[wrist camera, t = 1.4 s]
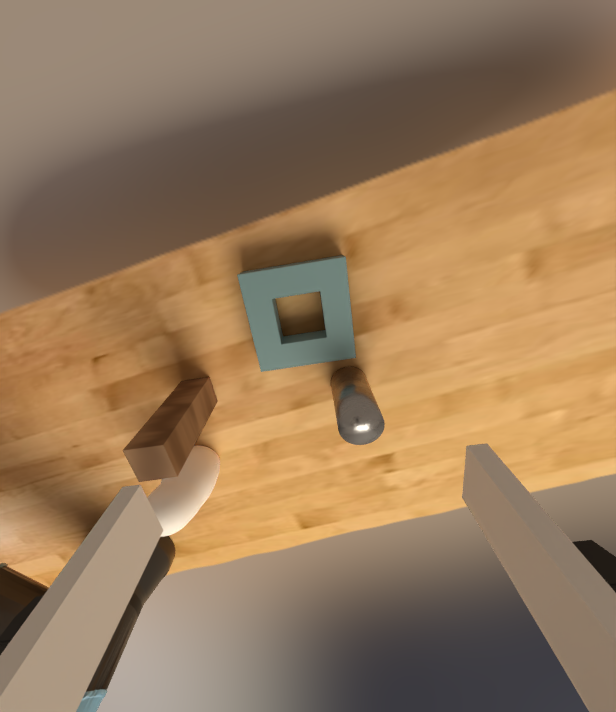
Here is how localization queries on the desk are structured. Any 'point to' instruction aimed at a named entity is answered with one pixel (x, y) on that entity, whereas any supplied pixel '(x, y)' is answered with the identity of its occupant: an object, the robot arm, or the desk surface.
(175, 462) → the square bit
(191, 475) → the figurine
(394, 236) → the desk surface
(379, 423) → the round bit
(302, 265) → the socket block
